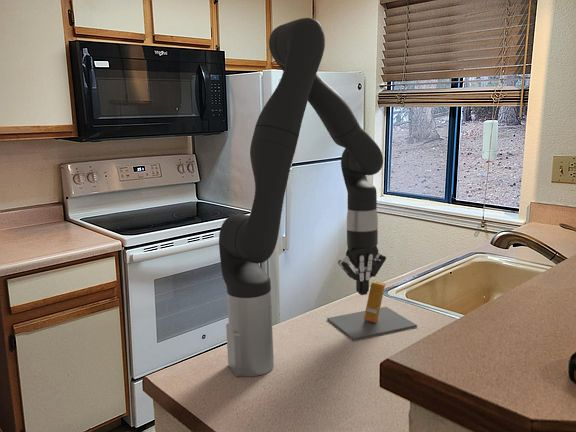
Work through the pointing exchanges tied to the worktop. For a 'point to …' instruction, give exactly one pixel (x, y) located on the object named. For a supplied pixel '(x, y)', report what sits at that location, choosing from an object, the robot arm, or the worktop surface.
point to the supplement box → (374, 301)
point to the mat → (371, 324)
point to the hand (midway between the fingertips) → (362, 293)
